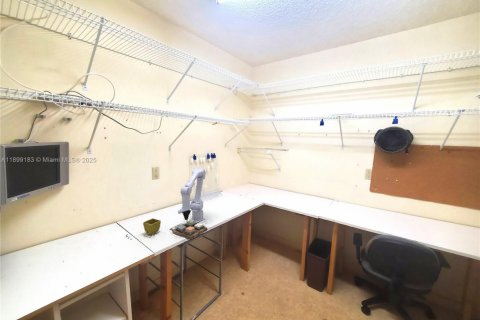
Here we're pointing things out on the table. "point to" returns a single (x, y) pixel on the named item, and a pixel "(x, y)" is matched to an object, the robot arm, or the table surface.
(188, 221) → the key sage
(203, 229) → the keypad
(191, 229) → the key terracotta
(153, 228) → the flower pot
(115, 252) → the table surface
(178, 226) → the card
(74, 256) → the table surface
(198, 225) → the key cream
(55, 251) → the table surface
